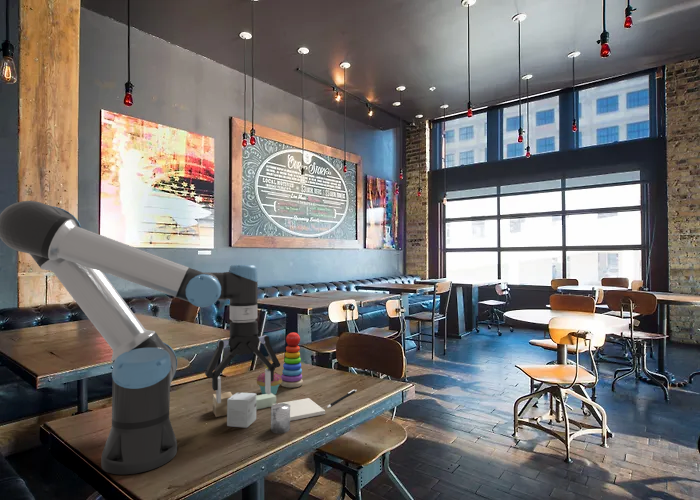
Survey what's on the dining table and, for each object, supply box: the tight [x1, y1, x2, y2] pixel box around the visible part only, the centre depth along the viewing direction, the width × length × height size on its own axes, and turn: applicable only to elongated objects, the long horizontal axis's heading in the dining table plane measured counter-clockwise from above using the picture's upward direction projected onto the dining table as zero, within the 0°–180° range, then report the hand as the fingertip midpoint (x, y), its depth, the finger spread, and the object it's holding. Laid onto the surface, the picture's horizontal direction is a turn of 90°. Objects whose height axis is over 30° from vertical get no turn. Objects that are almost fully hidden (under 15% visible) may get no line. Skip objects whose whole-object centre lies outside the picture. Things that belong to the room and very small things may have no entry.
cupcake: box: [256, 365, 282, 396], centre depth 135 cm, size 9×8×12 cm
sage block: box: [256, 393, 277, 411], centre depth 124 cm, size 7×4×3 cm, turn 124°
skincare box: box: [226, 391, 257, 429], centre depth 111 cm, size 6×6×7 cm
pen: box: [326, 389, 358, 409], centre depth 131 cm, size 1×19×1 cm, turn 151°
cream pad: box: [272, 397, 326, 422], centre depth 120 cm, size 12×12×1 cm
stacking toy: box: [280, 332, 304, 389], centre depth 144 cm, size 8×8×19 cm
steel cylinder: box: [270, 402, 291, 434], centre depth 107 cm, size 5×5×6 cm
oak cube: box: [212, 391, 233, 418], centre depth 118 cm, size 5×5×5 cm
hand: (243, 397), depth 111 cm, fingers open, 13 cm apart
